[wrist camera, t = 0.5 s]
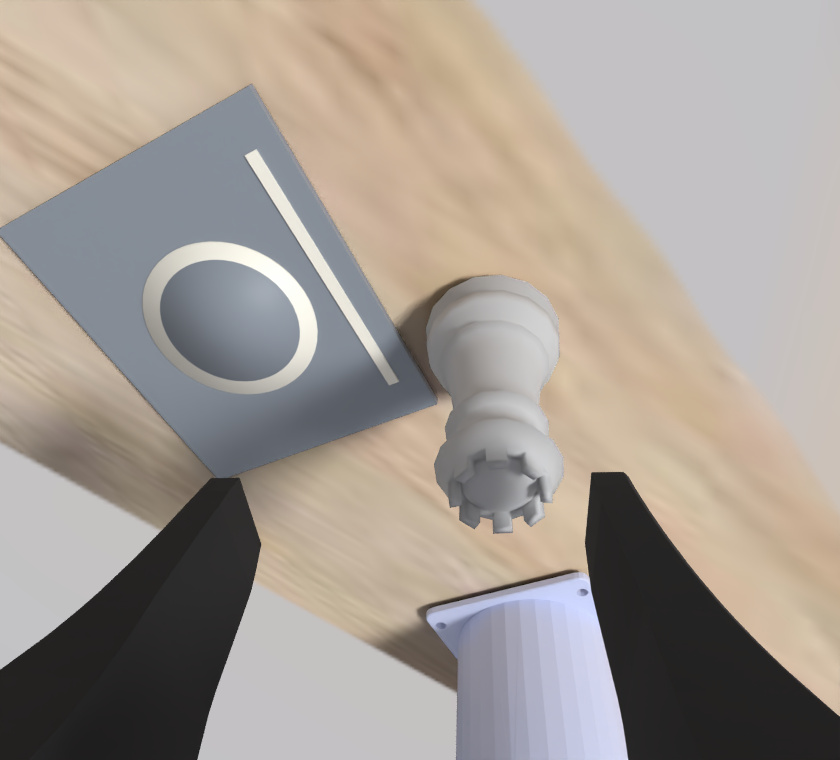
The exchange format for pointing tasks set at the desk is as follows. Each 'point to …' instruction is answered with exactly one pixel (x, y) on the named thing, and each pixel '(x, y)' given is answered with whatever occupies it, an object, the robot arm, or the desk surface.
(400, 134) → the desk surface
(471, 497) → the rook chess piece
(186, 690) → the robot arm
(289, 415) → the grey base plate
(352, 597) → the desk surface
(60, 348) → the desk surface
